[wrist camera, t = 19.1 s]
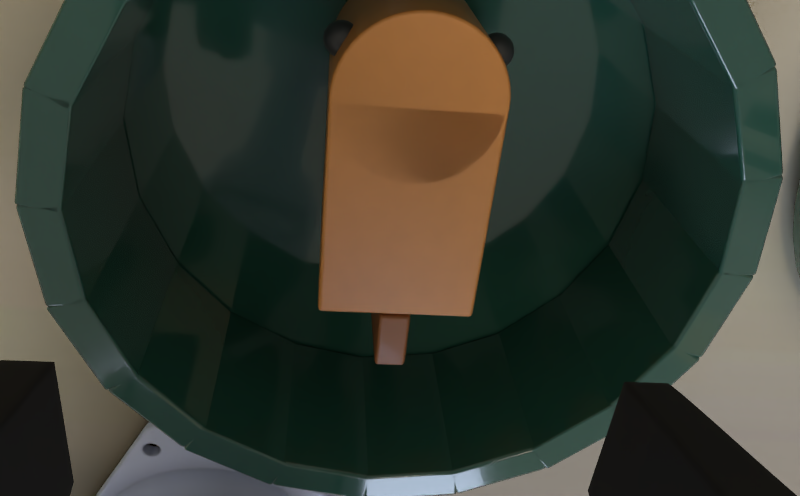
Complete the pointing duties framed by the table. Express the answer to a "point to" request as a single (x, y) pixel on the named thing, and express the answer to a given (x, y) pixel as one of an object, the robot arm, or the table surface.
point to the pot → (301, 231)
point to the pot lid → (797, 230)
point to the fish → (409, 161)
